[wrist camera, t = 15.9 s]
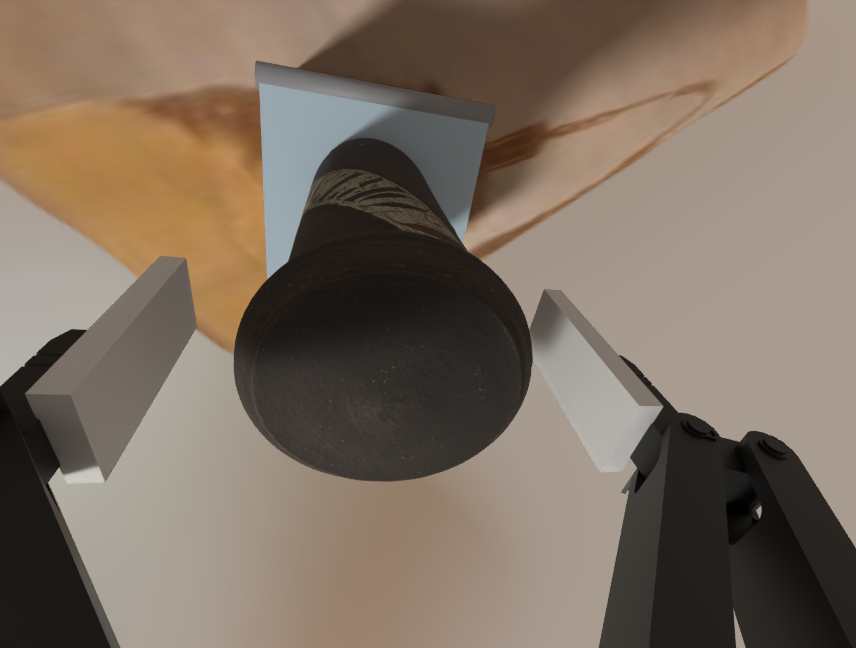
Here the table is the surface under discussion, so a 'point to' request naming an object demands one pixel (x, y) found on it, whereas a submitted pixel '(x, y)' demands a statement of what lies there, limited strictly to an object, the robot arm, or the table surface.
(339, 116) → the lid
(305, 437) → the container
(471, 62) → the table surface
